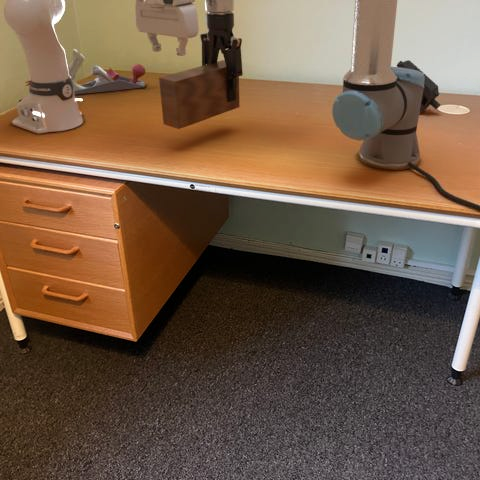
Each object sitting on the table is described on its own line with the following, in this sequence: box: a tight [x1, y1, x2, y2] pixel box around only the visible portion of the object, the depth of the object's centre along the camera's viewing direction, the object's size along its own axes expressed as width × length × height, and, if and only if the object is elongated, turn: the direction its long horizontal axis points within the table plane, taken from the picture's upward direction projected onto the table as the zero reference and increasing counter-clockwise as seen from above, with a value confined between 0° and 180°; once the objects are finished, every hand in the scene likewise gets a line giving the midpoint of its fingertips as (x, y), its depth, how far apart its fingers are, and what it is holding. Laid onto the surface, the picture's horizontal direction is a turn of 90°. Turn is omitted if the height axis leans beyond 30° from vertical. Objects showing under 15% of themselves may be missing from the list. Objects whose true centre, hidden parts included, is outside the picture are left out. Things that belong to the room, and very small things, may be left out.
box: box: [158, 59, 241, 130], centre depth 146 cm, size 24×6×12 cm, turn 137°
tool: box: [396, 59, 442, 114], centre depth 170 cm, size 6×19×15 cm, turn 51°
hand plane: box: [68, 48, 146, 95], centre depth 194 cm, size 7×31×15 cm, turn 107°
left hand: (169, 53), depth 136 cm, fingers open, 8 cm apart
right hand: (222, 98), depth 153 cm, fingers closed on box, 6 cm apart
